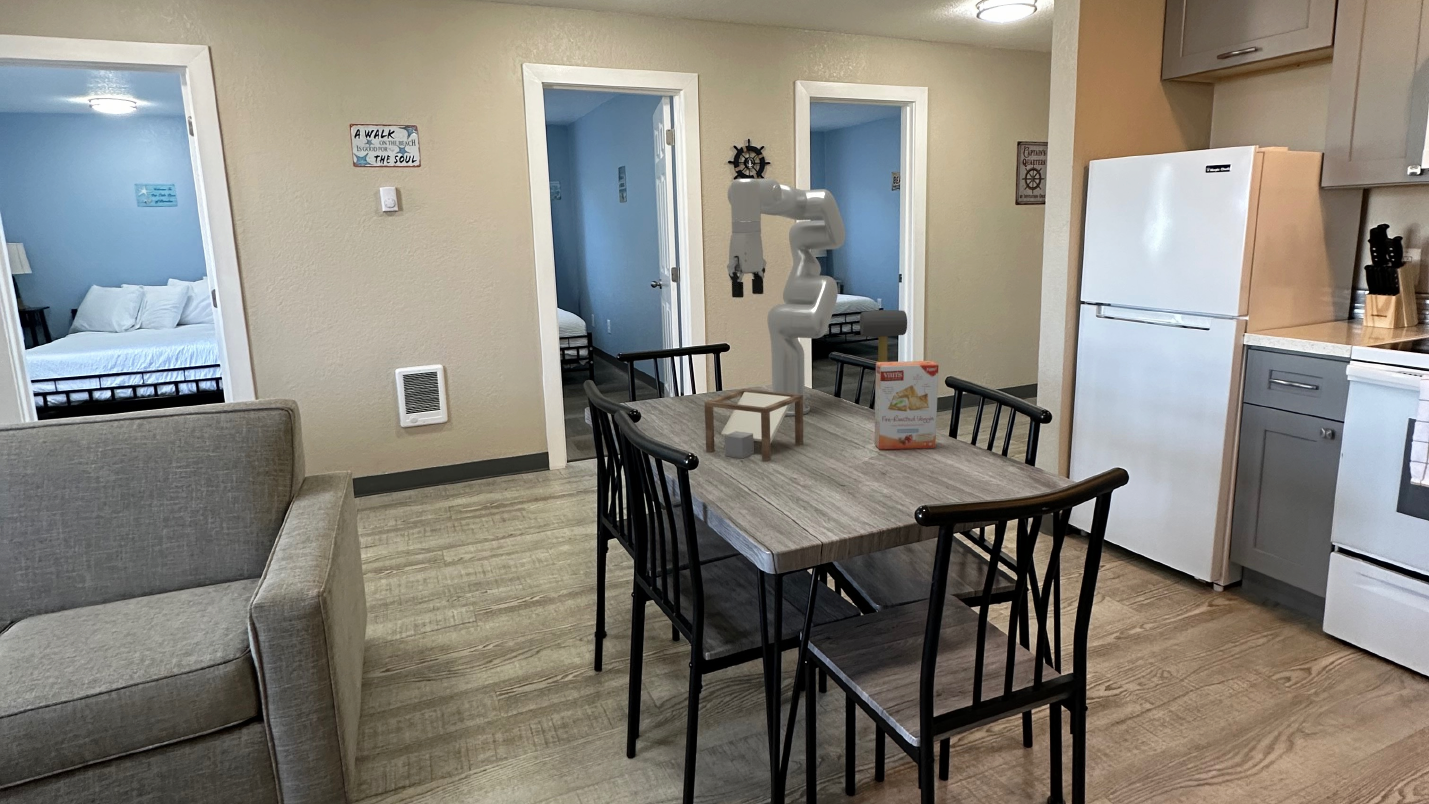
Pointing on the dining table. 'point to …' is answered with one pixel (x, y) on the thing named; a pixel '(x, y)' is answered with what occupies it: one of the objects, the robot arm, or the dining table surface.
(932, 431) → the cracker box
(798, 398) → the frame
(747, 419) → the trapdoor
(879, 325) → the rubber mallet
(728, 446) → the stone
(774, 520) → the dining table surface
